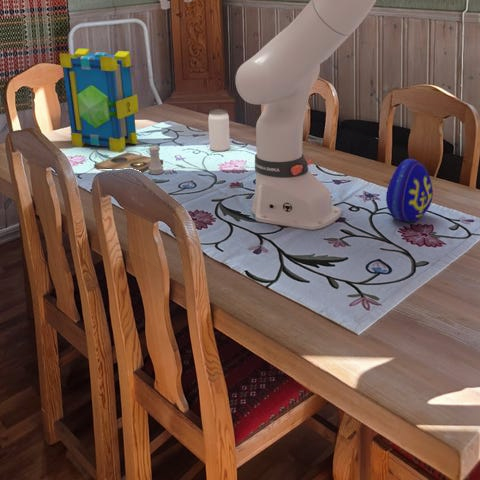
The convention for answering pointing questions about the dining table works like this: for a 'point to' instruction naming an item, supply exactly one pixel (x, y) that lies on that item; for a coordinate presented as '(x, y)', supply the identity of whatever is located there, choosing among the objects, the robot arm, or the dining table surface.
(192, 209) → the dining table surface
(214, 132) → the can
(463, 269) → the dining table surface
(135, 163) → the brass bolt head
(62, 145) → the dining table surface
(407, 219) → the ornament
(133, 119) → the decorative book
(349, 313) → the dining table surface
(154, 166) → the white chess piece
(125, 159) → the gauge board
